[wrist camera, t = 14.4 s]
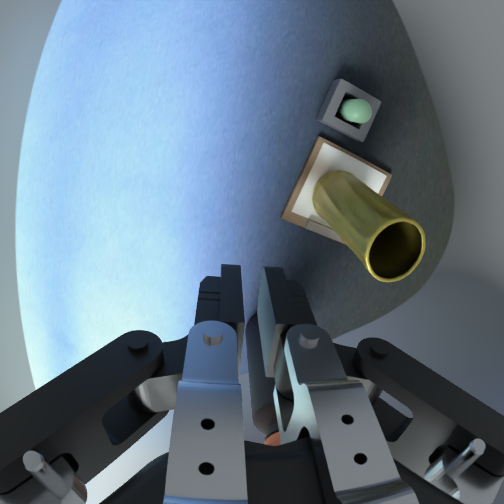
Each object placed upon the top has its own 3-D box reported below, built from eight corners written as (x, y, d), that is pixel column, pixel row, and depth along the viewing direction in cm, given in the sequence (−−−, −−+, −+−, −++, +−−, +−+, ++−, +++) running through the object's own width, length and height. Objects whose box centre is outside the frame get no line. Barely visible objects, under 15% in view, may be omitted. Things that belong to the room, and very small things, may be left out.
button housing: (333, 80, 29) (341, 78, 27) (371, 101, 30) (381, 101, 28) (315, 119, 31) (321, 120, 29) (354, 139, 32) (363, 142, 30)
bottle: (304, 324, 42) (343, 449, 24) (271, 353, 44) (292, 476, 26) (268, 300, 40) (293, 435, 22) (235, 332, 42) (241, 464, 24)
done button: (343, 95, 29) (354, 94, 26) (362, 106, 29) (375, 106, 26) (334, 114, 29) (345, 115, 27) (354, 125, 30) (366, 127, 27)
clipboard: (317, 135, 32) (321, 137, 30) (390, 174, 34) (395, 176, 33) (280, 216, 35) (282, 221, 34) (352, 246, 38) (356, 251, 36)
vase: (370, 179, 33) (442, 225, 21) (351, 228, 36) (409, 293, 23) (322, 162, 32) (380, 200, 19) (304, 214, 35) (346, 279, 22)
